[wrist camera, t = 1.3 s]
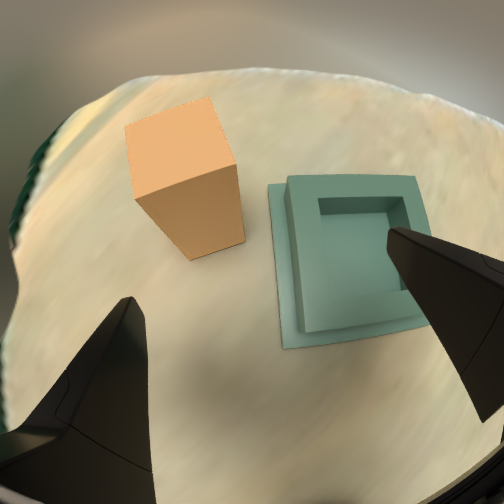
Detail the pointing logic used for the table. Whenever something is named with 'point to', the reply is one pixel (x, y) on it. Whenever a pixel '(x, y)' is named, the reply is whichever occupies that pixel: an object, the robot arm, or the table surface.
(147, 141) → the plug
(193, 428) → the table surface
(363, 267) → the socket housing
